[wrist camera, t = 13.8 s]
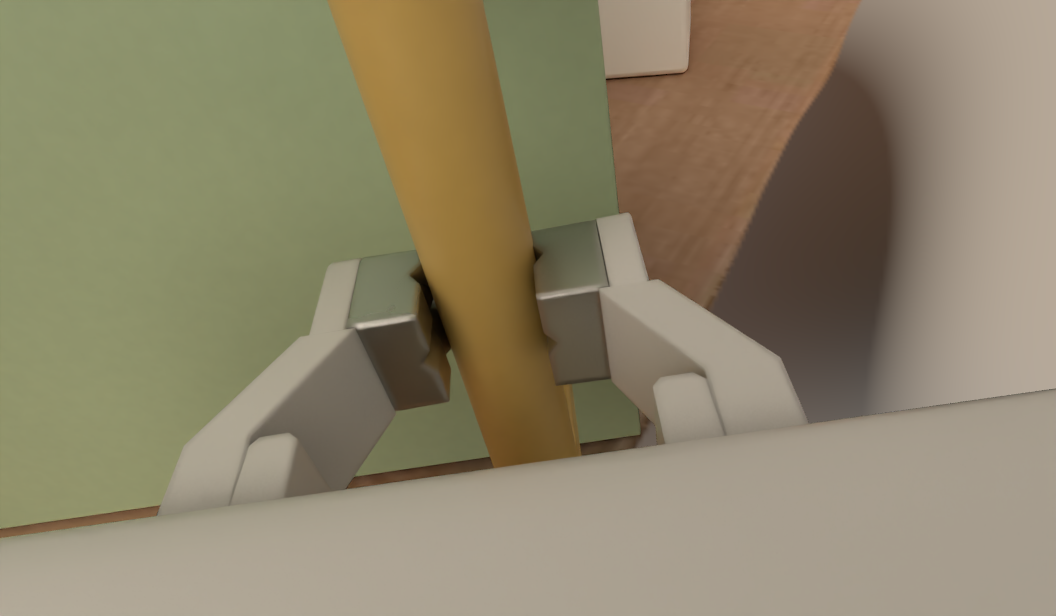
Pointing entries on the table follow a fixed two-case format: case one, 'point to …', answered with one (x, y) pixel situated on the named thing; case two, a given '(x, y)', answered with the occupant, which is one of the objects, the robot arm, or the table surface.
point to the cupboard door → (280, 220)
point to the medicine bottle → (645, 36)
